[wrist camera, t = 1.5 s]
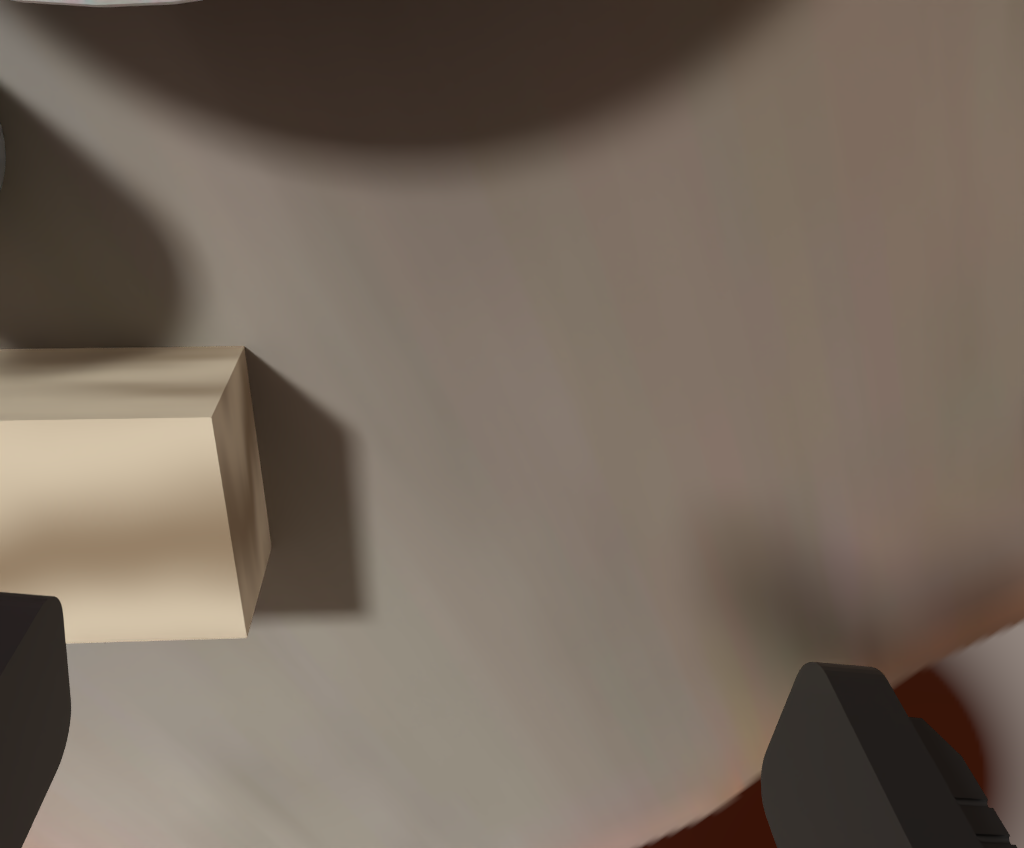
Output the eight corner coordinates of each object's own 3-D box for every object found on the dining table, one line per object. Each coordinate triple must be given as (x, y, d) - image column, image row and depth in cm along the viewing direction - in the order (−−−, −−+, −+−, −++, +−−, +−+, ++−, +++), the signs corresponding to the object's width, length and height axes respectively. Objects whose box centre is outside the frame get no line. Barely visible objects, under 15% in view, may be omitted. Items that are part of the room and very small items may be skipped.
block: (-10, 346, 30) (-89, 422, 25) (245, 343, 30) (211, 417, 26) (47, 549, 33) (-13, 645, 29) (272, 544, 34) (247, 638, 30)
